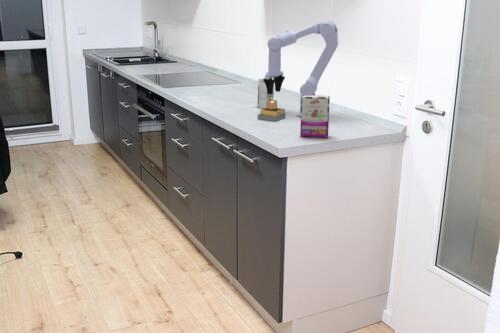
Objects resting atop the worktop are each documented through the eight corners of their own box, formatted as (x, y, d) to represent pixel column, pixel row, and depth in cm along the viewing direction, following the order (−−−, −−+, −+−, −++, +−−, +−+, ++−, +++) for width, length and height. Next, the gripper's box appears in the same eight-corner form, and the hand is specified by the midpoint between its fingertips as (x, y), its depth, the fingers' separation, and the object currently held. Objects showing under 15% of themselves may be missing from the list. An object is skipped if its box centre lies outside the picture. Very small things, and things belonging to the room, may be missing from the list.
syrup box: (264, 105, 286) (264, 77, 282) (273, 107, 283) (274, 78, 278) (257, 107, 282) (257, 78, 278) (266, 109, 278) (267, 79, 274)
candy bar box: (328, 135, 229) (330, 95, 224) (327, 138, 224) (329, 97, 219) (300, 134, 231) (302, 94, 226) (299, 137, 226) (301, 96, 221)
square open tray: (285, 117, 260) (285, 108, 258) (275, 121, 251) (275, 112, 250) (268, 115, 264) (268, 106, 263) (257, 119, 256) (257, 110, 255)
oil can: (279, 113, 258) (279, 97, 256) (273, 115, 255) (273, 98, 253) (270, 112, 261) (270, 96, 259) (265, 114, 257) (265, 98, 255)
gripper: (274, 61, 270) (273, 89, 274) (259, 64, 258) (258, 94, 262) (287, 62, 267) (286, 91, 271) (272, 65, 255) (272, 95, 259)
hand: (273, 92), depth 266 cm, fingers open, 7 cm apart
